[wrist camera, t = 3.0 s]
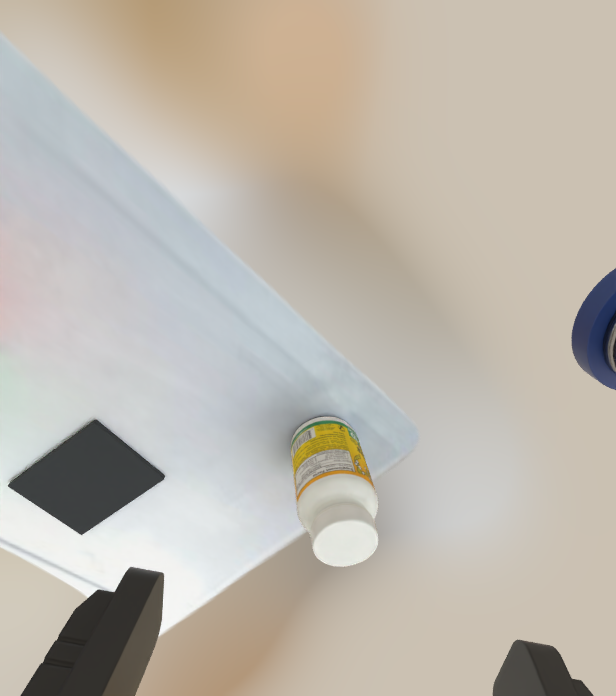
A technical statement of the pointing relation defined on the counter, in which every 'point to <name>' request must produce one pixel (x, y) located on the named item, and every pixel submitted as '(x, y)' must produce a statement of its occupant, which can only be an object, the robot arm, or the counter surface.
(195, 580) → the counter surface
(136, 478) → the mat
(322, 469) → the supplement bottle
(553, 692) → the robot arm
